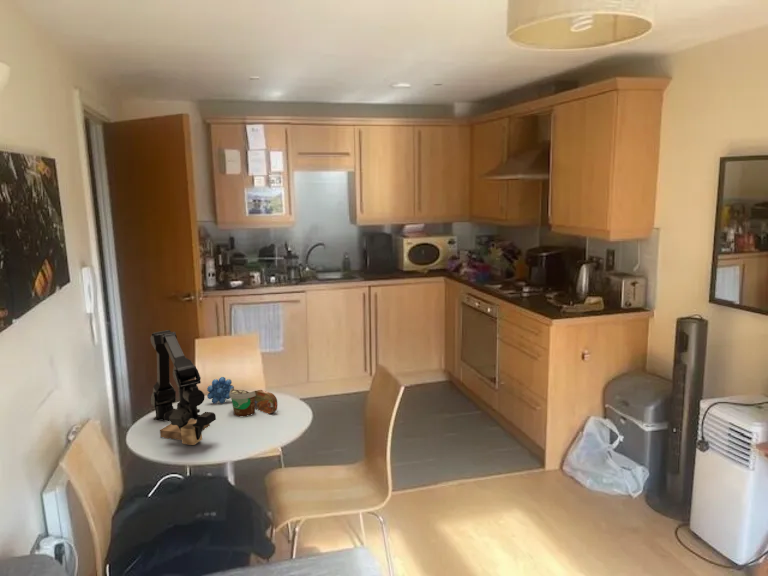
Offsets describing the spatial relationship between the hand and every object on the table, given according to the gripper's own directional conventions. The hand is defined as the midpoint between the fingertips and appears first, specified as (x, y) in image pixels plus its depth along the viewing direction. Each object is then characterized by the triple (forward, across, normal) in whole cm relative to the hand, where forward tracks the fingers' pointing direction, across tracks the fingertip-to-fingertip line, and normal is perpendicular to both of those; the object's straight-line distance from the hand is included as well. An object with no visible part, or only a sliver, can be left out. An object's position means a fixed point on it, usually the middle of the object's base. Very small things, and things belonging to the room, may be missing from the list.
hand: (192, 438), depth 212 cm
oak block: (+1, 0, 0) cm, 1 cm away
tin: (+2, +10, +35) cm, 36 cm away
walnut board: (+2, -10, +9) cm, 14 cm away
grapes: (+2, -14, +39) cm, 42 cm away
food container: (+2, +2, +29) cm, 29 cm away
